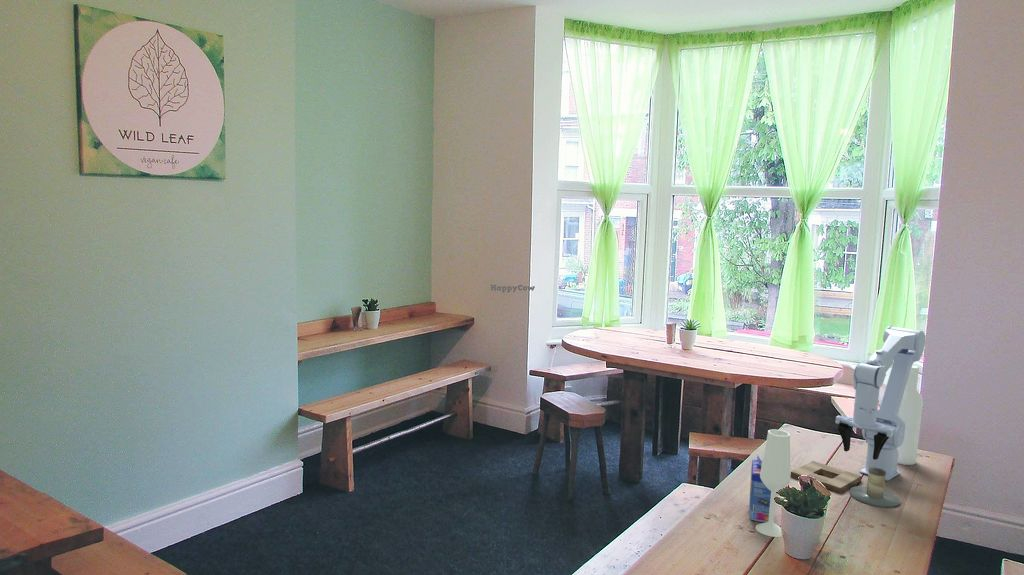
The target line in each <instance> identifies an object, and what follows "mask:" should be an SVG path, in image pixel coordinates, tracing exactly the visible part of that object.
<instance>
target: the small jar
mask: <svg viewBox="0 0 1024 575" xmlns="http://www.w3.org/2000/svg"><path fill="white" fill-rule="evenodd" d="M885 475H886V471H885V470H883V469H880V468H874V467H871V468H869V473H868V476H867V483H866V484H867V485H866V486H867V491H866V494H867V495H868V496H870V497H873V498H878V499H880V498H883V493H884V490H885V483H886V480H885Z"/></svg>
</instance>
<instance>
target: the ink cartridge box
mask: <svg viewBox="0 0 1024 575" xmlns="http://www.w3.org/2000/svg"><path fill="white" fill-rule="evenodd" d="M756 456H757V457H756V458H757V459H752V462H751V470H750V485H749V486H750V488H749V511H748V512H749V516H748V517H749V520H750V521H755V522H761V523H765V522H768V520H769V509H770V498H771V491H770V490H769V489H768V488H767V487H766V486H765V485H764V484H763V482H762V480H761V478H760V472H761V466H762V461H763V460H761V459H760V456H759V455H756Z"/></svg>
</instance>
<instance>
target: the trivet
mask: <svg viewBox="0 0 1024 575" xmlns="http://www.w3.org/2000/svg"><path fill="white" fill-rule="evenodd" d="M866 491H867V485H866V486H865V485H857V486H851V487H850V489H849V496H851V497H852V498H853V499H855V500H856V501H859V502H860V503H863V504H866V505H870V506H873V507H878V508H879V507H880V508H895V507H898V506H900V505H901V499H900V498H899V497H898V496H897V495H896V494H894V493H892V492H890V491H888V490H885V489H884V493H883V498H880V499H878V498H873V497H870V496H868V495H867V494H866Z"/></svg>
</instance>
